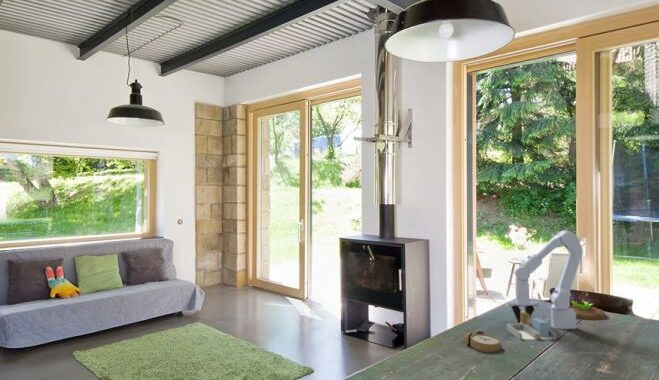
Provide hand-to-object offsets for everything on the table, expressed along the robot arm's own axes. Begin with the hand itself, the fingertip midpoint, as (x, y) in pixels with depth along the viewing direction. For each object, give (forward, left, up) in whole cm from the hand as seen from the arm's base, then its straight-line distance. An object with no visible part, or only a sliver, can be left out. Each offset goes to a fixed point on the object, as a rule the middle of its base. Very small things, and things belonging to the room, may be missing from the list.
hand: (522, 322), depth 198 cm
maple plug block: (0, 0, -2) cm, 2 cm away
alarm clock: (+27, +26, -2) cm, 38 cm away
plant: (-37, -20, -2) cm, 42 cm away
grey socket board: (+2, +14, -2) cm, 14 cm away
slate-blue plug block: (-1, +15, -1) cm, 15 cm away
